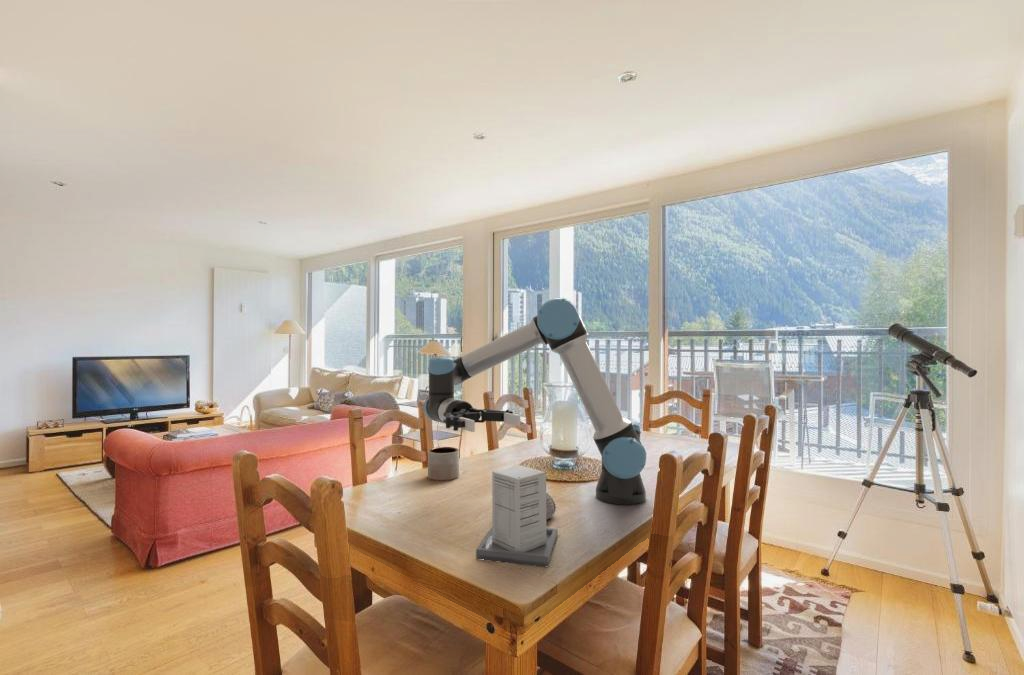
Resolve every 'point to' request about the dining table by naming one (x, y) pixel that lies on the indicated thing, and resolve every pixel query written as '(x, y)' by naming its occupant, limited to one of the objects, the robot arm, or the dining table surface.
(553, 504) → the sea urchin shell
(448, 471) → the planter
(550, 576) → the dining table surface
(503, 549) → the tray
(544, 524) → the supplement box
